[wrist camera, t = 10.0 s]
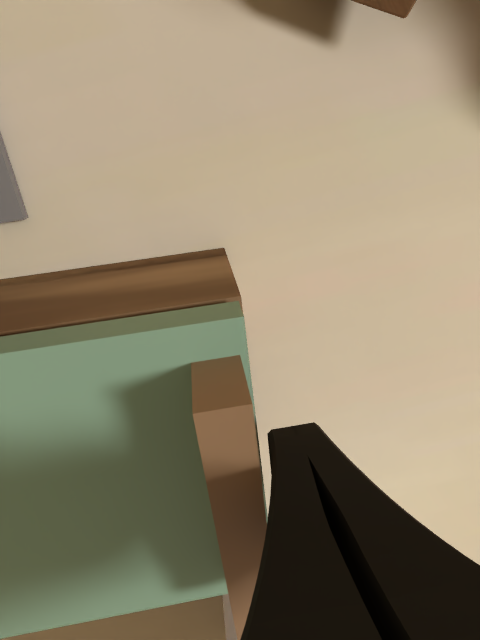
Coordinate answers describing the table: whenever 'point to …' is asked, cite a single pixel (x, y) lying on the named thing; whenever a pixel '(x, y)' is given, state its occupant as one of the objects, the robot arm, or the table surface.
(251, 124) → the table surface
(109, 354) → the toolbox lid
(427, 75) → the table surface
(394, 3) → the wooden block set
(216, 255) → the toolbox
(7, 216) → the mat
